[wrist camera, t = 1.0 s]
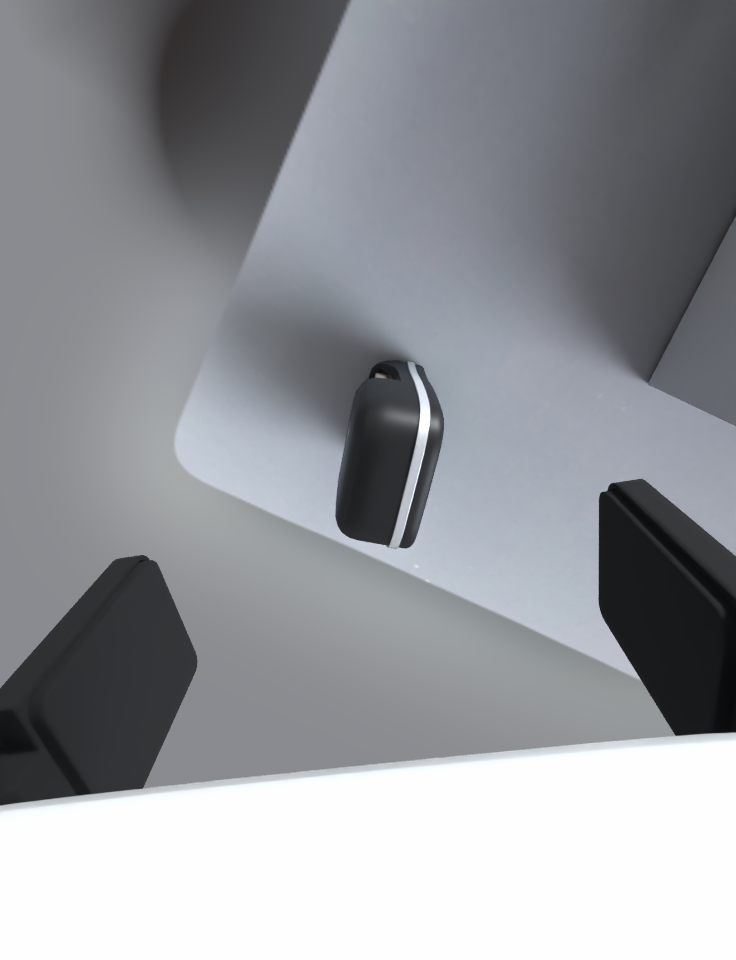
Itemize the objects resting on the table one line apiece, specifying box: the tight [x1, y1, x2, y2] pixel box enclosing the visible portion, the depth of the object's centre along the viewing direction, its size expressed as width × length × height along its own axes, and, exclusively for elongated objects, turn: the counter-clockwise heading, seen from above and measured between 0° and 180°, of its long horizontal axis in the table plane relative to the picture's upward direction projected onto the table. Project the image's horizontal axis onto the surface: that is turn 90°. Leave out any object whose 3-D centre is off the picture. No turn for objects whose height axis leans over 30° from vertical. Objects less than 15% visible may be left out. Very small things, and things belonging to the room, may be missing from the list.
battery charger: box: [336, 360, 444, 549], centre depth 25 cm, size 7×4×11 cm, turn 169°
